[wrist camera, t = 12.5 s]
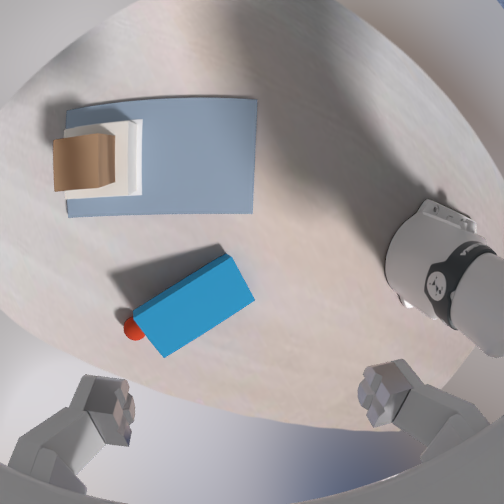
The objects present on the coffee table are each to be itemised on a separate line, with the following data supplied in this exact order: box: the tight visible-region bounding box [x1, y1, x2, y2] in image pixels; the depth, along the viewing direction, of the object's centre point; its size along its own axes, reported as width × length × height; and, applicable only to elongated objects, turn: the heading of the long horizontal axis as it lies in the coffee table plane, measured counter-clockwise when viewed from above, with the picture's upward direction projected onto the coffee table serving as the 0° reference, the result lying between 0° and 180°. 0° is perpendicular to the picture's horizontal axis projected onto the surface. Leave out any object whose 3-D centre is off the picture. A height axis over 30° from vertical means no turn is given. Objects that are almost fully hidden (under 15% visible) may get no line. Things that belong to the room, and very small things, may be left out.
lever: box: [124, 254, 255, 358], centre depth 38 cm, size 7×7×18 cm
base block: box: [64, 121, 137, 199], centre depth 28 cm, size 8×8×4 cm
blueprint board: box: [66, 98, 257, 218], centre depth 31 cm, size 24×14×1 cm, turn 88°
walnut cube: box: [53, 133, 115, 192], centre depth 24 cm, size 5×5×5 cm
